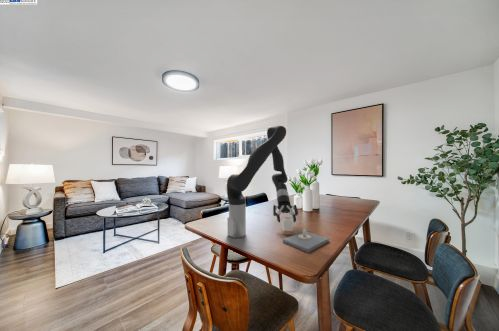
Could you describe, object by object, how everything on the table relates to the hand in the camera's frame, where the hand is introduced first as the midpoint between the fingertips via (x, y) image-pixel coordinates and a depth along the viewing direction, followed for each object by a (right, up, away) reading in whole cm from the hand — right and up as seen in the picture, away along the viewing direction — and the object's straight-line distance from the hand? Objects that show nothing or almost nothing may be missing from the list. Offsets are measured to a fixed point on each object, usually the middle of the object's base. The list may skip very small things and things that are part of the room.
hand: (287, 221), depth 102 cm
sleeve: (0, -6, 0) cm, 6 cm away
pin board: (+6, -6, -13) cm, 16 cm away
